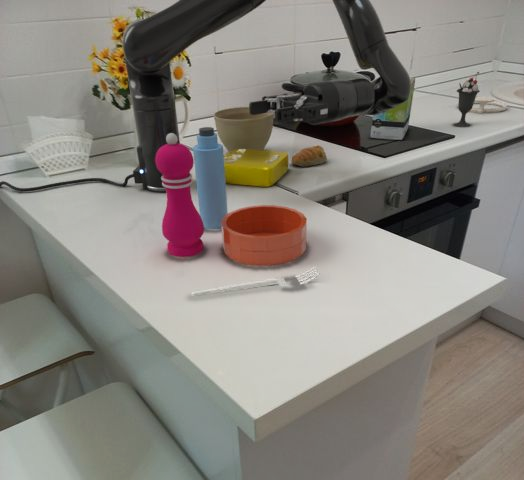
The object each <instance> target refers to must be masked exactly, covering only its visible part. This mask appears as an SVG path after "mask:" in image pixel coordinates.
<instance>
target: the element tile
mask: <svg viewBox="0 0 524 480" xmlns="http://www.w3.org/2000/svg"><path fill="white" fill-rule="evenodd" d="M224 168H225V182H226V184H229V185H240V186H251V187H261V188H267V187H268V188H269V187H271V186H273V185H275V183H277V182H278V181H279V180H280V179H281V178H282V177H283V176H284V175H286V173H287V172H288V171H289V153H288V152H286V151H278V150H265V149H264V150H253V149H235V150H233V151H231V152H230V153H229V152H228V153H227V154H225V155H224Z"/></svg>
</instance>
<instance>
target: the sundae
mask: <svg viewBox="0 0 524 480" xmlns="http://www.w3.org/2000/svg"><path fill="white" fill-rule="evenodd" d="M479 74H480V71H477V72H476V75H475V78H477V76H478V75H479ZM477 83H478V80H477V79H474V77H470V78H469V79H468V80H465V81H464V83H462V84H461V82H459V87H460V88H458V89H457V90H456V92H457V93H458V104H457V109H458V111H459V112H460V113H461V116H460V120H459V121H458V122H455V123H453V126H455V127H459V128H466V127H467V128H468V127H470V126H471V124H470V123H467V122H466V116H467V114H468V113H469V112H471V111H470V110H471V109H472V108H474V101H475V98H476V97H477V95H478V94H479V93H480V91H481V90H479V85H478V84H477Z"/></svg>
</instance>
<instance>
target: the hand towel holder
mask: <svg viewBox="0 0 524 480" xmlns="http://www.w3.org/2000/svg"><path fill="white" fill-rule="evenodd" d="M474 104H476V105H479V106H478V107H472V109H471V110H470V111H469V112H473V113H478V114H483V113H499V112H504V111H506V110H507V109H508V105H507V104H506V103H503V102H500V101H497V99H496V98H495V97H492V96H476V98H475V101H474ZM474 104H473V105H474ZM485 105H492V106H497V108H485Z"/></svg>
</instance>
